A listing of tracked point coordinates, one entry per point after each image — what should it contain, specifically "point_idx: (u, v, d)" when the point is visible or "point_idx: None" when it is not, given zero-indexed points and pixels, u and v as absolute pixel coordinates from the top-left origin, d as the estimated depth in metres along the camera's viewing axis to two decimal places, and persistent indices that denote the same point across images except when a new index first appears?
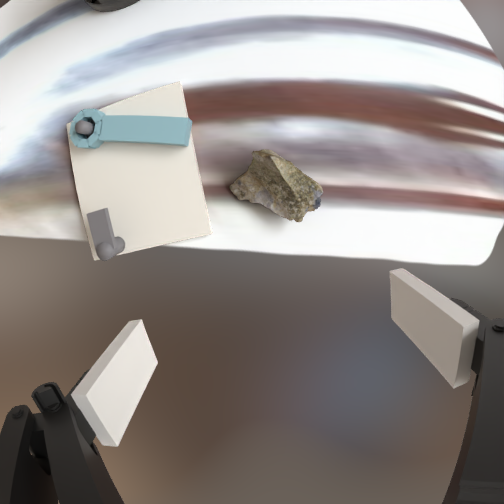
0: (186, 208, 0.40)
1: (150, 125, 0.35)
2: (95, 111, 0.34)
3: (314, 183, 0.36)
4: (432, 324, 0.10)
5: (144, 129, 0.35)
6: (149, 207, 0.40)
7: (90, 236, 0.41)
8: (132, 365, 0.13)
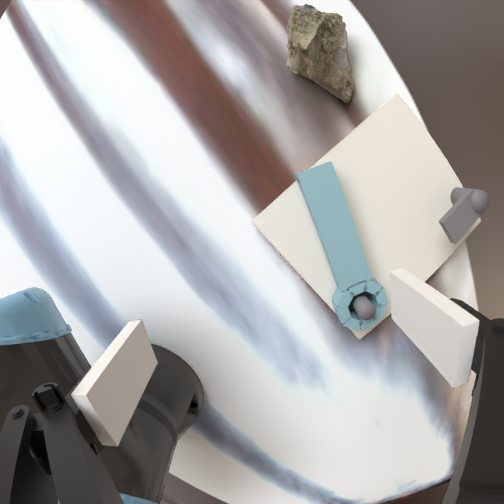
0: (389, 131, 0.28)
1: (328, 217, 0.28)
2: (339, 305, 0.30)
3: (294, 12, 0.23)
4: (432, 324, 0.10)
5: (336, 223, 0.28)
6: (409, 175, 0.29)
7: (462, 236, 0.31)
8: (132, 365, 0.13)
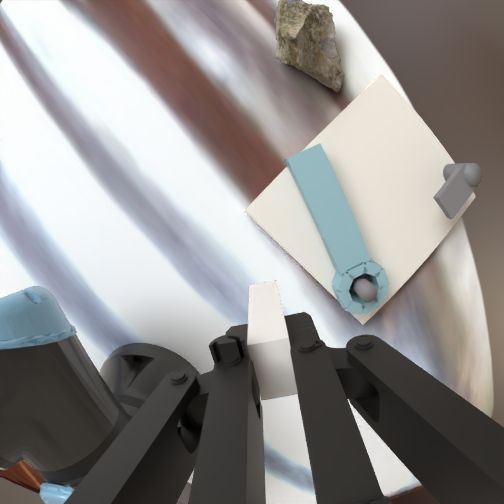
0: (376, 111, 0.28)
1: (322, 199, 0.28)
2: (339, 289, 0.30)
3: (282, 4, 0.23)
4: None
5: (330, 205, 0.28)
6: (399, 154, 0.29)
7: (458, 213, 0.31)
8: None
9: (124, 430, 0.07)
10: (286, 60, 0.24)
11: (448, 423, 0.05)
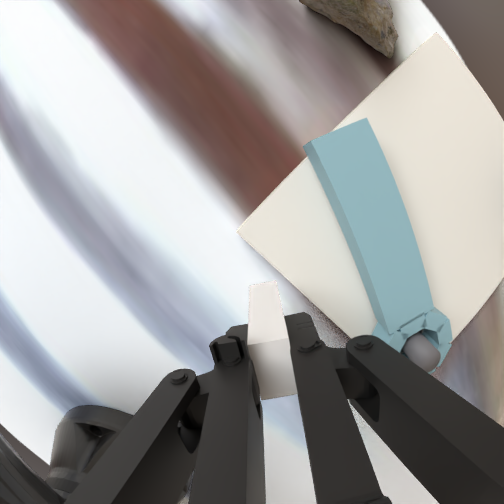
0: (436, 81, 0.16)
1: (370, 214, 0.15)
2: None
3: None
4: None
5: (383, 224, 0.16)
6: (468, 146, 0.17)
7: None
8: None
9: (124, 430, 0.07)
10: None
11: (448, 423, 0.05)
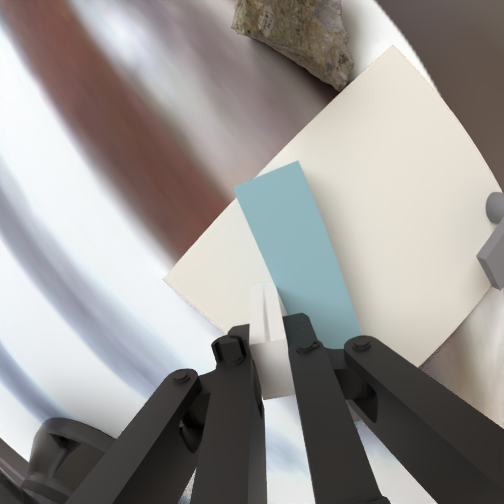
0: (387, 105, 0.16)
1: (294, 266, 0.16)
2: None
3: None
4: None
5: (309, 276, 0.16)
6: (424, 178, 0.17)
7: None
8: None
9: (126, 430, 0.07)
10: (243, 28, 0.12)
11: (446, 423, 0.05)
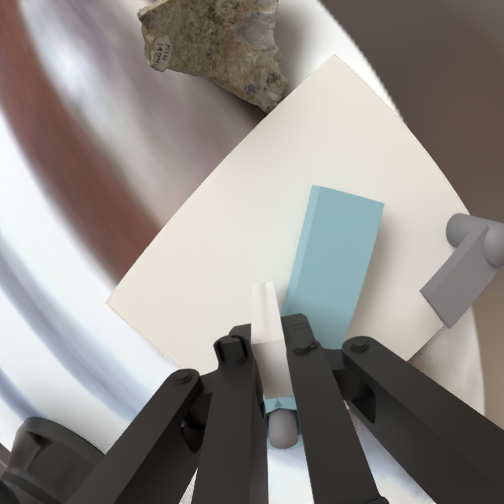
0: (322, 124, 0.16)
1: (322, 285, 0.15)
2: None
3: None
4: None
5: (327, 301, 0.16)
6: None
7: None
8: None
9: (127, 430, 0.07)
10: None
11: (444, 424, 0.05)
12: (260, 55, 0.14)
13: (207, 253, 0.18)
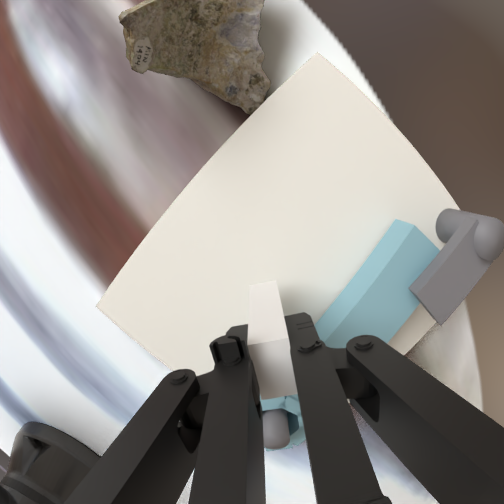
0: (305, 122, 0.16)
1: (377, 308, 0.16)
2: None
3: None
4: None
5: (374, 324, 0.16)
6: (352, 201, 0.17)
7: None
8: None
9: (124, 430, 0.07)
10: None
11: (448, 423, 0.05)
12: (243, 56, 0.14)
13: (193, 255, 0.18)
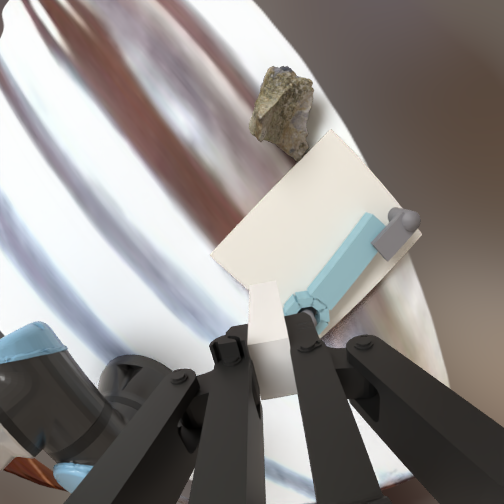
0: (324, 166, 0.36)
1: (356, 252, 0.35)
2: (299, 301, 0.37)
3: (268, 75, 0.30)
4: None
5: (355, 260, 0.35)
6: (344, 203, 0.37)
7: (403, 250, 0.38)
8: None
9: (124, 430, 0.07)
10: (253, 132, 0.31)
11: (448, 423, 0.05)
12: (298, 134, 0.34)
13: (269, 227, 0.37)
